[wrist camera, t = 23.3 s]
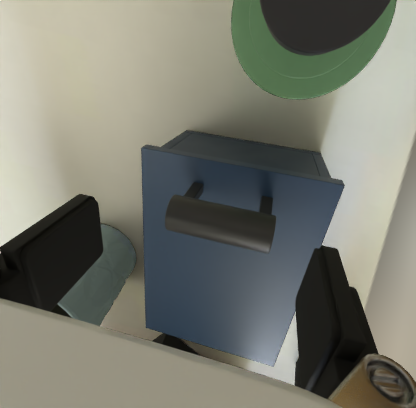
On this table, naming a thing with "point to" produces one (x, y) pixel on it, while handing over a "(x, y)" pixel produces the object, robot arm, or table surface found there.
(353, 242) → the table surface
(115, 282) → the green tapered pot
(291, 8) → the water bottle
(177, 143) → the box
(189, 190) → the lid
